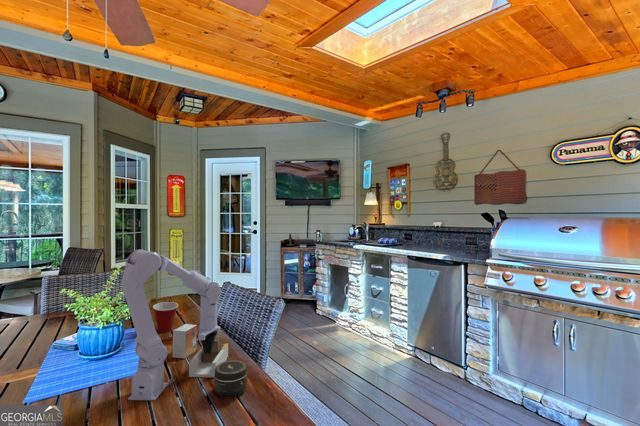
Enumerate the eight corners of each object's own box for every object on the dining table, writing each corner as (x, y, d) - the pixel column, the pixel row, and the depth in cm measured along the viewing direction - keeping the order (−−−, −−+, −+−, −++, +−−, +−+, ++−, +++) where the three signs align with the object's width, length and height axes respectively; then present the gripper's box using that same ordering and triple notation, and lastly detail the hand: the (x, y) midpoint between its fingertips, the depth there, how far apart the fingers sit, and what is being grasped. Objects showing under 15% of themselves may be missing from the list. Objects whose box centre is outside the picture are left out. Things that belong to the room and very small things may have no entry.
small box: (185, 359, 126) (185, 331, 126) (171, 357, 127) (172, 330, 127) (196, 350, 134) (197, 324, 134) (184, 349, 135) (185, 323, 135)
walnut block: (217, 362, 121) (218, 341, 121) (202, 362, 121) (203, 340, 121) (221, 356, 126) (222, 336, 126) (207, 356, 126) (207, 335, 126)
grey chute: (215, 377, 112) (215, 362, 112) (188, 377, 112) (189, 361, 112) (227, 356, 128) (228, 343, 128) (204, 356, 128) (204, 343, 128)
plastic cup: (155, 336, 147) (156, 309, 147) (149, 329, 156) (150, 304, 156) (180, 331, 154) (181, 305, 154) (174, 324, 163) (174, 300, 162)
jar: (230, 403, 98) (231, 377, 98) (206, 393, 102) (207, 369, 102) (253, 388, 106) (253, 364, 106) (230, 379, 111) (230, 357, 111)
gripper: (213, 321, 111) (212, 362, 111) (225, 309, 125) (224, 344, 125) (192, 321, 111) (191, 361, 111) (206, 308, 125) (205, 344, 125)
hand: (207, 352), depth 118 cm, fingers closed
